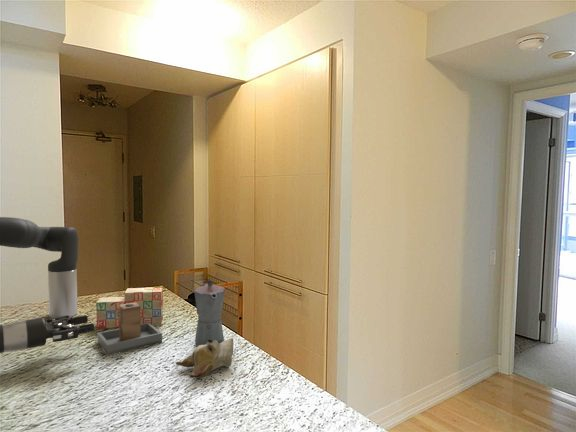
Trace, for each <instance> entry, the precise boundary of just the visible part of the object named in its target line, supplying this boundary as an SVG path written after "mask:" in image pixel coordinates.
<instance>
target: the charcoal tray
mask: <svg viewBox="0 0 576 432" xmlns="http://www.w3.org/2000/svg"><path fill="white" fill-rule="evenodd" d="M96 339H97V344H98V343H99V344H98V345H99V346H100V348H101V349H102V351H103V352H104V353H105V354H106V355H107V356H111V355H116V354H119V352H120V353H124V352H127V351H128V350H129V351H133V350H137V349H140V348H141V349H142V348H145V347H149V346H154V345H158V344H163V333H162V332H161V331H160V330H159V329H157V328H156V327H155V325H151V324H150V323H144V324H141V337H138V338H134V339H129V340H125V341H121V340H120V339H119V328H114V329H111V330H110V329H109V330H104V331H100V332H97V338H96ZM132 349H133V350H132Z"/></svg>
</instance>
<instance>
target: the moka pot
mask: <svg viewBox="0 0 576 432" xmlns="http://www.w3.org/2000/svg"><path fill="white" fill-rule="evenodd" d="M225 293H226V288H225V287H223V286H220V285H213V280H209V281H204V283H203V285H202V286H199V287H196V289H194V299H195V308H196V314H197V319H198V320H197V322H196V323H197V325H196V331H195V332H196V333H195V337H194V338H195V339H194V343H195V345H196V346H199V345H201V344H205V343H207V341H208V340H209V339H213V340H216V341H217V342H218V343H221V342H223V341H225V339H224V338H225V337H224V329H223V324H222V313H223V307H224V301H225V295H226V294H225Z"/></svg>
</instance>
